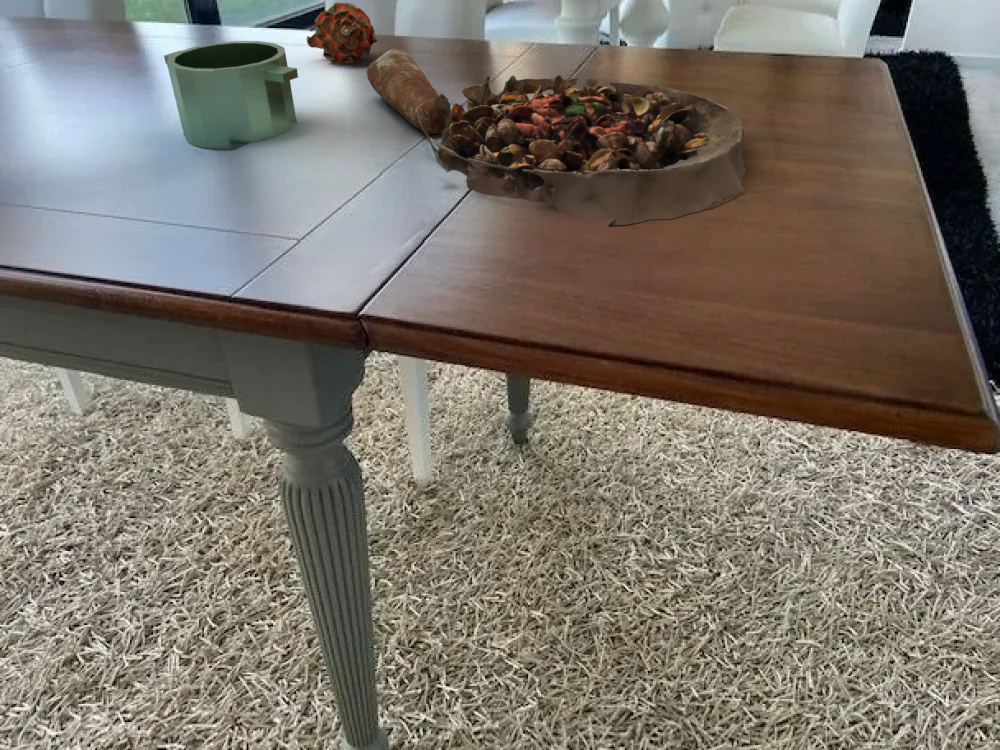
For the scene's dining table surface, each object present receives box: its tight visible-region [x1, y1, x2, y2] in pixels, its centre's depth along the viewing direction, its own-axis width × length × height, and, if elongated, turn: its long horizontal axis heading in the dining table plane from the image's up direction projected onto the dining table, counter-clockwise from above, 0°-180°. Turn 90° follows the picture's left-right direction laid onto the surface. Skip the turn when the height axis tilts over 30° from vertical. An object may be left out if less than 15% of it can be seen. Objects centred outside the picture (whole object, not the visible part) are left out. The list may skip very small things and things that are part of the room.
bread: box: [366, 48, 446, 135], centre depth 101 cm, size 6×19×6 cm, turn 19°
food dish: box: [418, 74, 747, 227], centre depth 87 cm, size 35×33×8 cm
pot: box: [163, 40, 299, 150], centre depth 96 cm, size 13×18×8 cm
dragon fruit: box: [306, 1, 378, 65], centre depth 122 cm, size 8×8×12 cm
